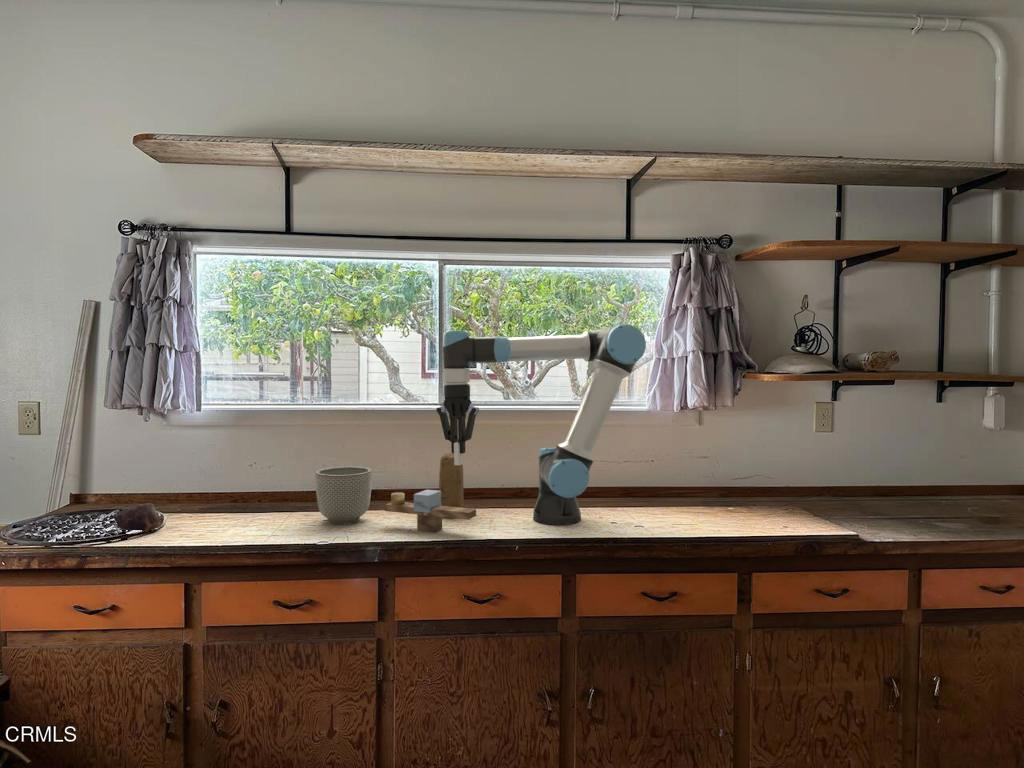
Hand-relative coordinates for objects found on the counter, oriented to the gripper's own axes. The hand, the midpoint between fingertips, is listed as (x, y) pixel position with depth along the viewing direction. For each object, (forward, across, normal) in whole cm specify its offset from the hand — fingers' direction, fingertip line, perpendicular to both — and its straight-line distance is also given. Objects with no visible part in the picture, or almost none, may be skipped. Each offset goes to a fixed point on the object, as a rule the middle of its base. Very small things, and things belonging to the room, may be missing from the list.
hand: (458, 464), depth 184 cm
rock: (+18, +87, +36) cm, 96 cm away
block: (+20, +13, -20) cm, 31 cm away
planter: (+20, +40, +2) cm, 44 cm away
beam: (+20, +10, 0) cm, 22 cm away
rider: (+14, +10, 0) cm, 17 cm away
